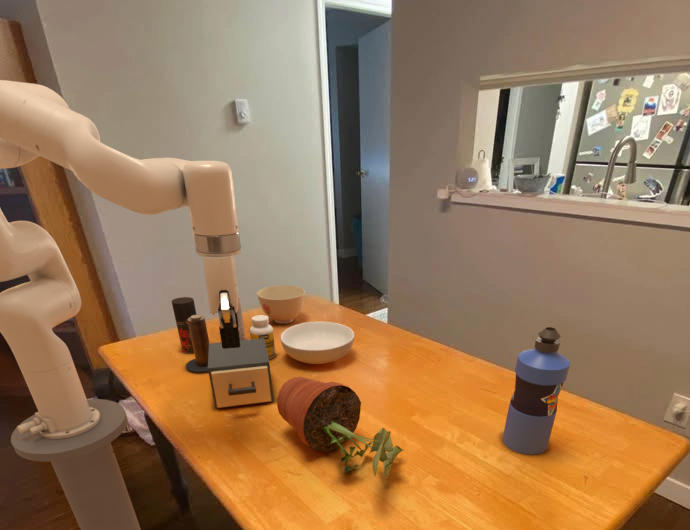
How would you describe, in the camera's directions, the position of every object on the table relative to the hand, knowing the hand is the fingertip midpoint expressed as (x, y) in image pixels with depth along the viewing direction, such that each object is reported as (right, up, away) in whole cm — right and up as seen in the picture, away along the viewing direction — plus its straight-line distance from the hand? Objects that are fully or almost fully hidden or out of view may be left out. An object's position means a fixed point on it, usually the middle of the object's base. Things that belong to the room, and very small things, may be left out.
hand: (230, 337), depth 88 cm
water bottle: (+59, -21, +9) cm, 63 cm away
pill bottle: (-3, +2, +46) cm, 46 cm away
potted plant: (+22, -23, +5) cm, 33 cm away
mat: (-19, -1, +41) cm, 45 cm away
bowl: (-2, +18, +71) cm, 73 cm away
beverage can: (-13, +7, +54) cm, 56 cm away
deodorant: (-25, +5, +50) cm, 57 cm away
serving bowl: (+13, +2, +46) cm, 48 cm away
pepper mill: (-19, 0, +40) cm, 45 cm away
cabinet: (-5, -9, +28) cm, 30 cm away
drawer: (-4, -10, +24) cm, 27 cm away
